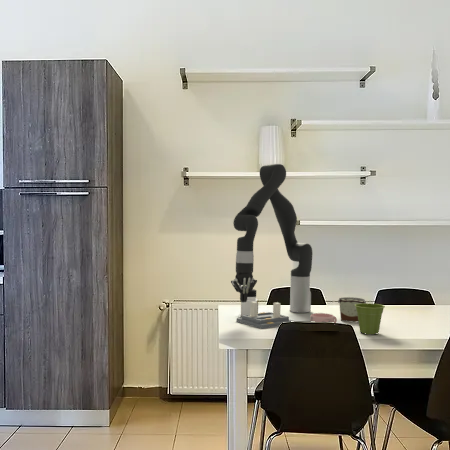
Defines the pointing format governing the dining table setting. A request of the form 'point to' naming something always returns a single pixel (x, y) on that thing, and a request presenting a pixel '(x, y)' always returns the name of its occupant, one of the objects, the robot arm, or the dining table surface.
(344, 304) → the food container
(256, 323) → the dark gray tray
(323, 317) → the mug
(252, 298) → the medicine bottle
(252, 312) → the tab
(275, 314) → the tab
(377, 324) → the plant pot
